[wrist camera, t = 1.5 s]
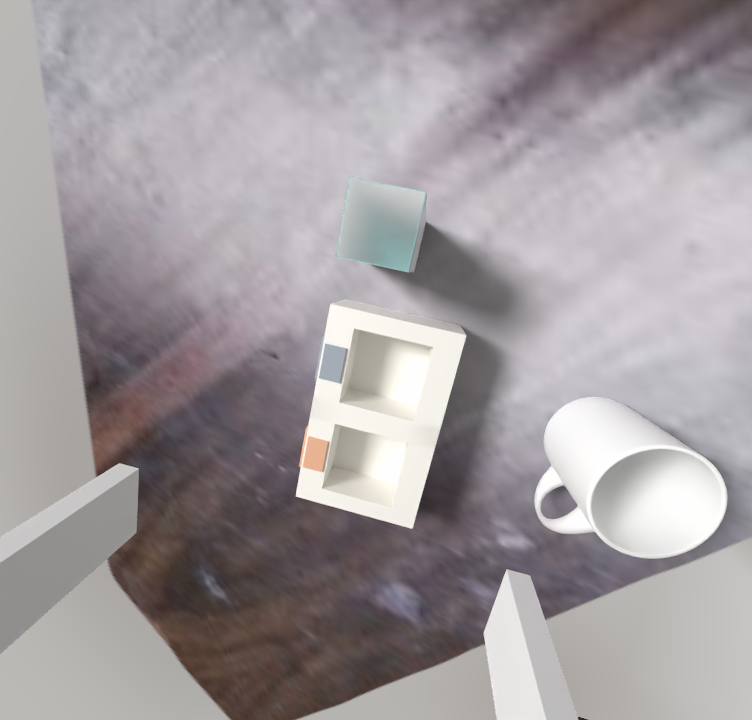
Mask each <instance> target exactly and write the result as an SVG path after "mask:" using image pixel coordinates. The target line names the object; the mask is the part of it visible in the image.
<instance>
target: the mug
mask: <svg viewBox="0 0 752 720" xmlns="http://www.w3.org/2000/svg"><path fill="white" fill-rule="evenodd" d="M544 447H545V451H546V454H547V457H548V459H549V461H550V463H551V467H550V468H549V469H548V470H547V471H546V472H545V474H544V475H543V476H542V478H541V479H540V481H539V483H538V485H537V488H536V492H535V509H536V513H537V515H538V517H539V519H540V521H541V522H542V523H543V524H544V525H545V526H546V527H547V528H549V529H550V530H553V531H555V532H558V533H563V534H582V533H590V532H596V533H597V535H598V536H599V537H600V538H601V539H602V540H603V541H604V542H605V543H606V544H608V545H609V546H611V547H612V548H614V549H616V550H618V551H620V552H622V553H624V554H627V555H630V556H634V557H639V558H648V559H659V558H667V557H672V556H676V555H680V554H683V553H685V552H688V551H690V550H692V549H694V548H696V547H697V546H699V545H700V544H702V543H703V542H705V541H706V540H707V539H708V538H709V537H710V536H711V535H712V534H713V533H714V532H715V531H716V529H717V528H718V527H719V525H720V523H721V522H722V520H723V518H724V515H725V512H726V508H727V498H728V496H727V489H726V486H725V482H724V480H723V478H722V476H721V474H720V473H719V471H718V470H717V469H716V467H715V466H714V465H713V464H712V463H711V462H710V461H708V460H707V459H706V458H704V457H703V456H702V455H700V454H699V453H697V452H696V451H694V450H693V449H691V448H690V447H688V446H686V445H685V444H683V443H682V442H680V441H679V440H677V439H676V438H674V437H673V436H671V435H670V434H668V433H667V432H665V431H664V430H662V429H661V428H659V427H658V426H656V425H655V424H653V423H652V422H650V421H648V420H647V419H645V418H644V417H642V416H641V415H639V414H638V413H636V412H635V411H633V410H632V409H630V408H629V407H627V406H625V405H623V404H621V403H620V402H617V401H615V400H612V399H608V398H603V397H586V398H581V399H577V400H575V401H572V402H570V403H568V404H566V405H565V406H563V407H562V408H560V409H559V410H558V411H557V412H556V413H555V414H554V415H553V416H552V418H551V419H550V421H549V423H548V424H547V427H546V430H545V434H544ZM561 486H565V487H566V488H567V490H568V491H569V493H570V494H571V496H572V497H573V499H574V500H575V502H576V503H577V505H578V506H577V507H576V508H575V509H574V510H573V511H572V512H570V513H569V514H567V515H565V516H563V517H561V518H558V519H548V518H546V517H544V515H543V514H542V512H541V503H542V500H543V499H544V497H545V496H546V495H547V494H548V493H549V492H550V491H551V490H553V489H555V488H558V487H561Z"/></svg>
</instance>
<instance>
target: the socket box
mask: <svg viewBox="0 0 752 720" xmlns="http://www.w3.org/2000/svg"><path fill="white" fill-rule="evenodd" d="M465 339H466V334H465V332H464V331H463V329H462V328H461V326H460V325H457V324H453V323H448V322H444V321H440V320H435V319H431V318H427V317H422V316H418V315H413V314H409V313H405V312H400V311H396V310H392V309H387V308H383V307H379V306H374V305H370V304H366V303H361V302H357V301H353V300H348V299H345V300H342V301H338V302H335V303H332V304H330V309H329V315H328V320H327V326H326V331H325V334H324V335H323V336H322V341H321V347H320V353H319V358H318V364H317V369H316V375H315V380H317V381H316V387H315V392H314V398H313V403H312V409H311V414H310V420H309V424H308V425H307V427H306V431H305V436H304V442H303V447H302V453H301V459H300V464H299V467H301V469H300V475H299V481H298V486H297V492H296V497H300V498H304V499H307V500H311V501H314V502H318V503H322V504H325V505H329V506H332V507H336V508H340V509H343V510H347V511H350V512H354V513H358V514H361V515H365V516H368V517H372V518H376V519H379V520H383V521H386V522H390V523H394V524H397V525H401V526H404V527H408V528H413V525H414V521H415V518H416V514H417V511H418V507H419V503H420V500H421V496H422V493H423V489H424V486H425V482H426V478H427V475H428V471H429V468H430V464H431V461H432V457H433V453H434V450H435V446H436V443H437V439H438V436H439V432H440V428H441V425H442V421H443V418H444V414H445V411H446V407H447V403H448V400H449V396H450V393H451V389H452V386H453V382H454V378H455V375H456V371H457V368H458V364H459V361H460V357H461V353H462V350H463V346H464V343H465Z"/></svg>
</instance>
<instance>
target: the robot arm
mask: <svg viewBox="0 0 752 720" xmlns="http://www.w3.org/2000/svg"><path fill="white" fill-rule="evenodd" d="M138 478H139V469H138V468H135V467H131V466H127V465H124V464H120V463H119V464H117V465H116V466H114V467H113V468H111V469H109V470H108V471H106V472H105V473H103V474H101V475H100V476H98V477H96V478H95V479H93V480H92V481H90V482H88V483H87V484H85V485H84V486H82V487H80V488H79V489H77V490H75V491H74V492H72V493H71V494H69V495H68V496H66V497H64V498H63V499H61V500H59V501H58V502H56V503H54V504H53V505H51V506H50V507H48V508H47V509H45V510H43V511H41V512H40V513H38V514H37V515H35V516H33V517H32V518H30V519H28V520H27V521H25V522H24V523H22V524H21V525H19V526H17V527H16V528H14V529H12V530H11V531H9V532H8V533H6V534H4V535H3V536H1V537H0V654H1V653H2V652H3V651H4V650H5V649H6V648H7V647H8V646H10V645H11V644H12V643H13V642H14V641H15V640H16V639H18V638H19V637H20V636H21V635H22V634H23V633H24V632H25V631H26V630H28V629H29V628H30V627H31V626H32V625H33V624H34V623H35V622H37V621H38V620H39V619H40V618H41V617H42V616H43V615H44V614H46V613H47V612H48V611H49V610H50V609H51V608H52V607H53V606H54V605H56V604H57V603H58V602H59V601H60V600H61V599H62V598H64V597H65V596H66V595H67V594H68V593H69V592H70V591H71V590H73V589H74V588H75V587H76V586H77V585H78V584H79V583H80V582H81V581H83V580H84V579H85V578H86V577H87V576H88V575H89V574H90V573H91V572H93V571H94V570H95V569H96V568H97V567H98V566H99V565H101V564H102V563H103V562H104V561H105V560H106V559H107V558H108V557H110V556H111V555H112V554H113V553H114V552H115V551H116V550H117V549H119V548H120V547H121V546H122V545H123V544H124V543H125V542H126V541H127V540H129V539H130V538H131V537H132V536H133V535H134V534H135V533H136V529H137V503H138ZM484 639H485V645H486V652H487V658H488V665H489V672H490V678H491V684H492V691H493V698H494V704H495V711H496V717H497V720H587V719H584V718H580V717H577V714H576V711H575V708H574V705H573V702H572V699H571V696H570V693H569V690H568V687H567V684H566V681H565V678H564V675H563V672H562V669H561V666H560V664H559V660H558V658H557V654H556V651H555V648H554V646H553V642H552V640H551V636H550V633H549V631H548V627H547V625H546V622H545V619H544V616H543V613H542V610H541V607H540V604H539V601H538V598H537V595H536V592H535V589H534V586H533V583H532V580H531V577H530V576H529V575H526V574H522V573H518V572H515V571H511V570H506V572H505V575H504V578H503V581H502V584H501V586H500V589H499V592H498V595H497V597H496V600H495V603H494V606H493V609H492V611H491V614H490V617H489V620H488V623H487V625H486V628H485V631H484Z"/></svg>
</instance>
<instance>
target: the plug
mask: <svg viewBox="0 0 752 720" xmlns="http://www.w3.org/2000/svg"><path fill="white" fill-rule="evenodd" d="M426 199H427V192H425V191H420V190H415V189H410V188H405V187H400V186H395V185H390V184H385V183H380V182H375V181H370V180H365V179H360V178H355V177H350V176H349V181H348V187H347V193H346V198H345V204H344V209H343V215H342V221H341V226H340V232H339V237H338V243H337V249H336V254H335V256H336V257H340V258H345V259H350V260H354V261H359V262H363V263H368V264H372V265H377V266H381V267H386V268H390V269H395V270H399V271H404V272H409V273H410V272H415V267H416V263H417V259H418V255H419V250H420V246H421V242H422V237H423V233H424V229H425V225H426Z"/></svg>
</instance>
